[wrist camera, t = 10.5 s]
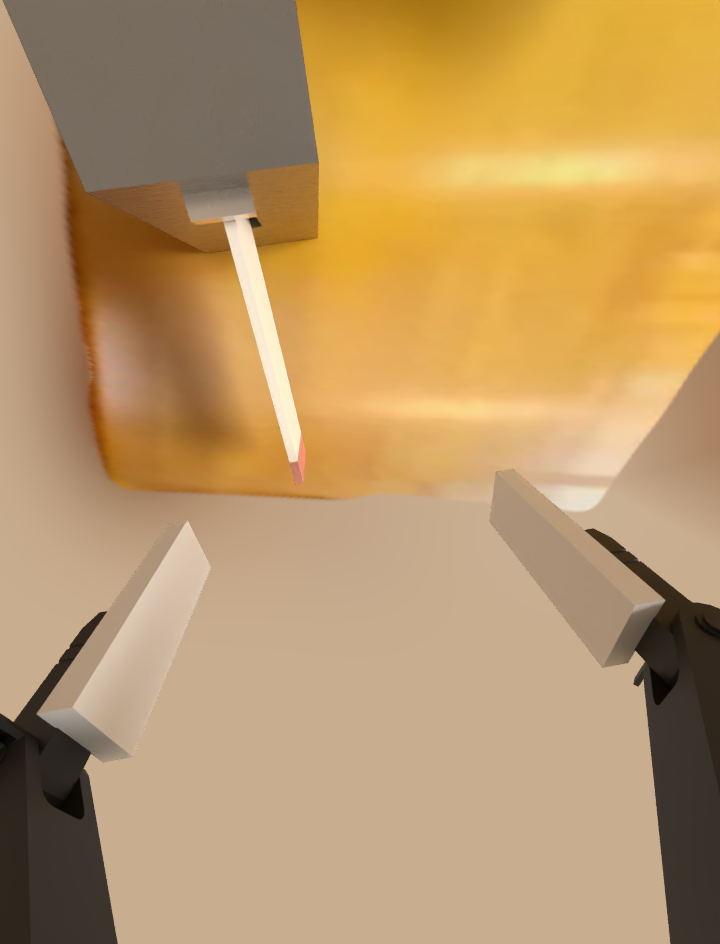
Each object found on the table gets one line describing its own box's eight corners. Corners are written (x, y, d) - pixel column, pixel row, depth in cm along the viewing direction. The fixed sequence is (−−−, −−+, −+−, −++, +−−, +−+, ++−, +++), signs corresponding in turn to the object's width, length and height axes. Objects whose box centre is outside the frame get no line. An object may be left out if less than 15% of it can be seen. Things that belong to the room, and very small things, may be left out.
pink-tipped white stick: (239, 217, 21) (213, 186, 15) (248, 216, 21) (225, 185, 15) (299, 453, 29) (295, 484, 24) (305, 452, 29) (303, 483, 24)
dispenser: (138, 43, 21) (-216, -484, 7) (284, 28, 21) (223, -496, 8) (208, 266, 27) (94, 222, 13) (320, 251, 28) (322, 192, 14)
